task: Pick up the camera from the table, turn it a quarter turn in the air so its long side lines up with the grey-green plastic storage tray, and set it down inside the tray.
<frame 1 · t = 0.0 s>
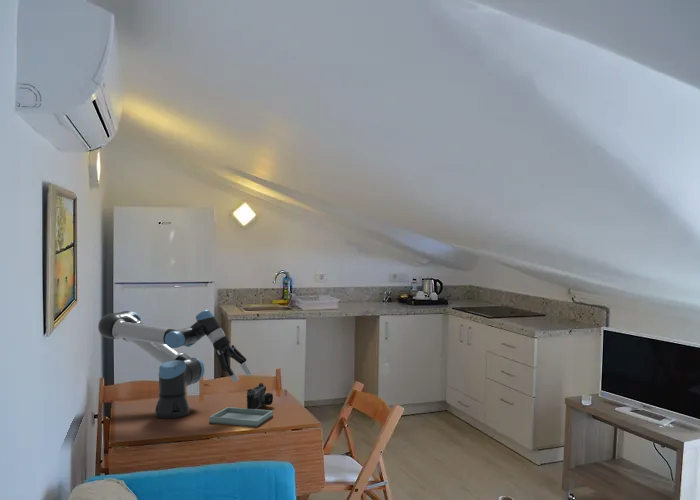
hand: (243, 378, 273), 15 cm above the table, tool tilted 35°, fingers open, 13 cm apart
storage tray: (241, 419, 259), on the table
camera: (261, 407, 280), on the table
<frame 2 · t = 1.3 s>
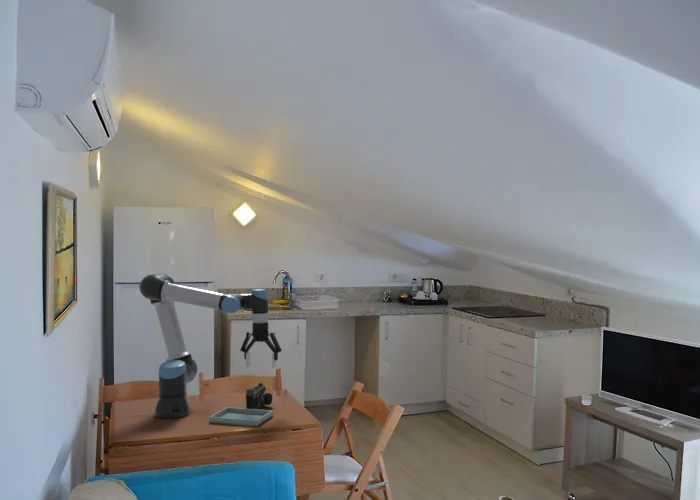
hand: (261, 366, 279), 19 cm above the table, tool pointing down, fingers open, 13 cm apart
nothing on the table moved.
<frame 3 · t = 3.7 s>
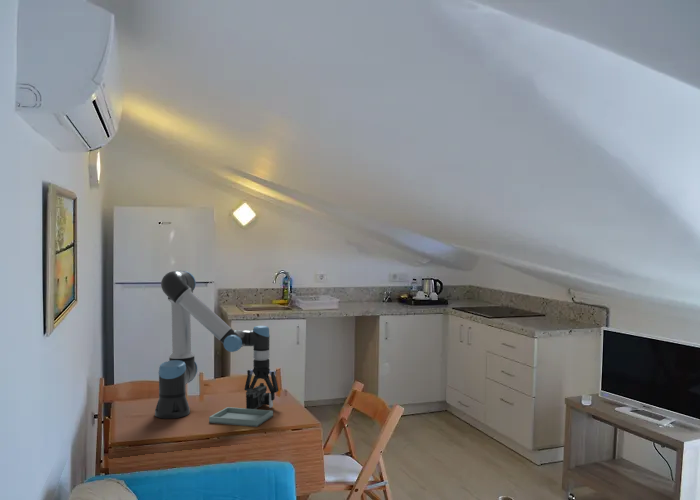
hand: (261, 406, 280), 0 cm above the table, tool pointing down, fingers closed on camera, 9 cm apart
camera: (261, 407, 279), on the table, touching gripper
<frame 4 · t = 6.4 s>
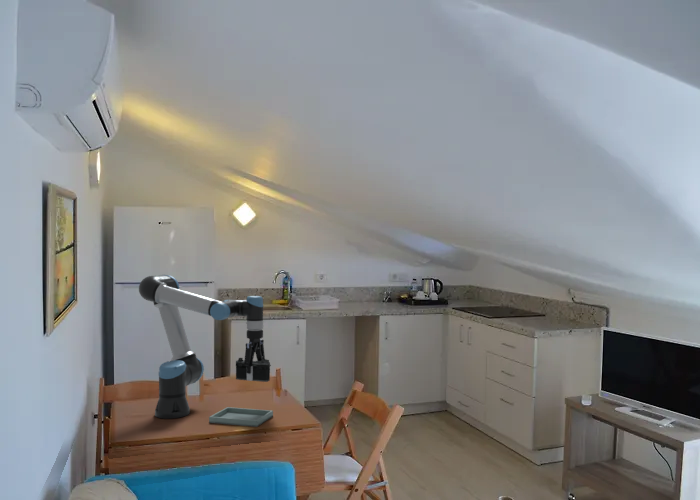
hand: (254, 378, 273), 15 cm above the table, tool pointing down, fingers closed on camera, 9 cm apart
camera: (255, 379, 273), point 15 cm above the table, touching gripper
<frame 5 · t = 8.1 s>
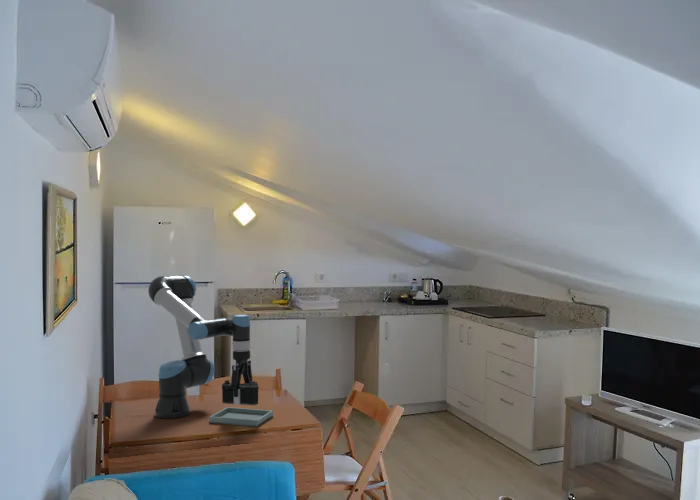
hand: (242, 401, 259), 8 cm above the table, tool pointing down, fingers closed on camera, 9 cm apart
camera: (242, 402, 259), point 7 cm above the table, touching gripper
when the fingers open (3 cm above the table, at t = 9.5 s): camera drops 1 cm, resting on storage tray.
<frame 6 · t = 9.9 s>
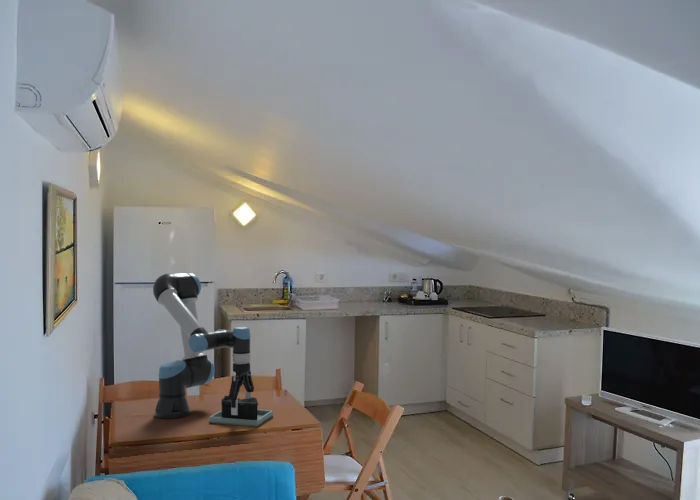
hand: (241, 410, 259), 4 cm above the table, tool pointing down, fingers open, 13 cm apart
camera: (242, 418, 260), resting on storage tray
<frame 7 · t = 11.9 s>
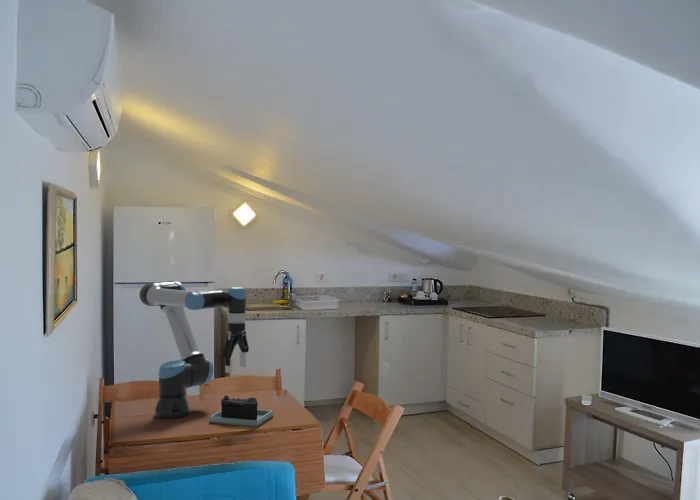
hand: (235, 369, 263), 21 cm above the table, tool pointing down, fingers open, 13 cm apart
nothing on the table moved.
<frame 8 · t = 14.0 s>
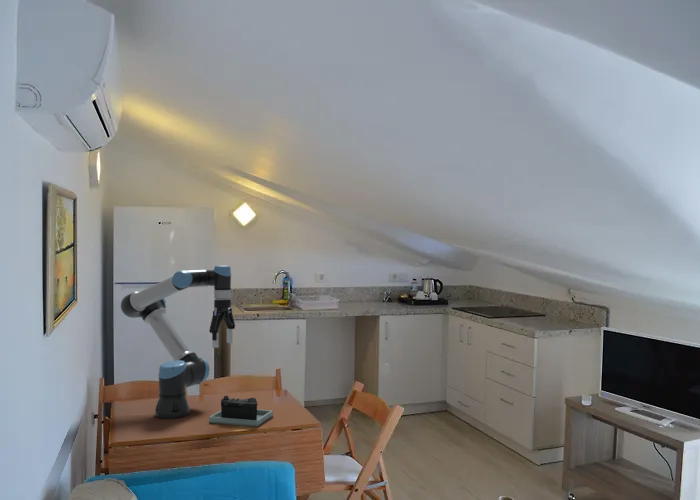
hand: (222, 345, 272), 31 cm above the table, tool pointing down, fingers open, 13 cm apart
nothing on the table moved.
at the end: camera inside the target area on the storage tray (0.4 cm from its centre), point 0.4 cm above the storage tray's base; camera tilted 0°; the gripper is holding nothing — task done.
